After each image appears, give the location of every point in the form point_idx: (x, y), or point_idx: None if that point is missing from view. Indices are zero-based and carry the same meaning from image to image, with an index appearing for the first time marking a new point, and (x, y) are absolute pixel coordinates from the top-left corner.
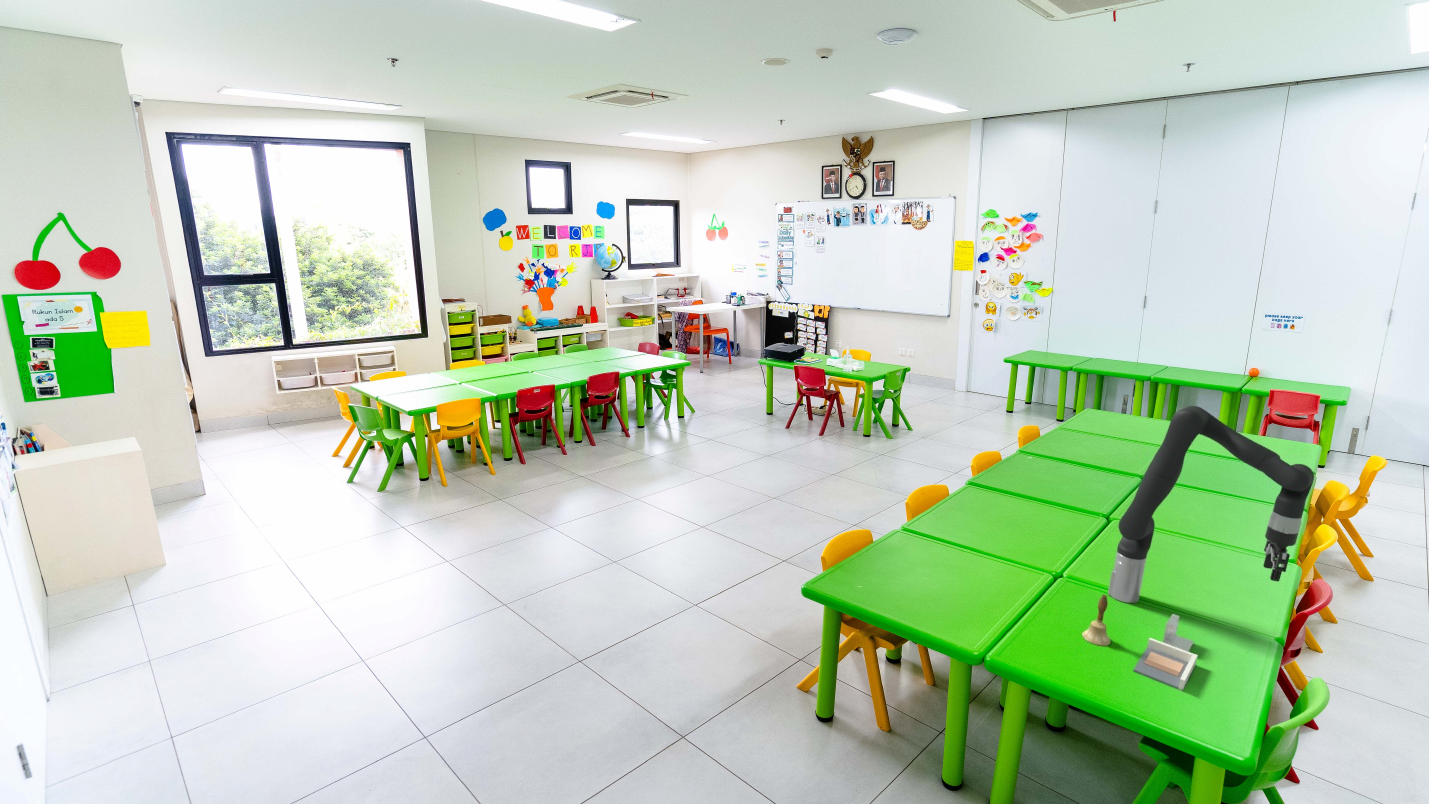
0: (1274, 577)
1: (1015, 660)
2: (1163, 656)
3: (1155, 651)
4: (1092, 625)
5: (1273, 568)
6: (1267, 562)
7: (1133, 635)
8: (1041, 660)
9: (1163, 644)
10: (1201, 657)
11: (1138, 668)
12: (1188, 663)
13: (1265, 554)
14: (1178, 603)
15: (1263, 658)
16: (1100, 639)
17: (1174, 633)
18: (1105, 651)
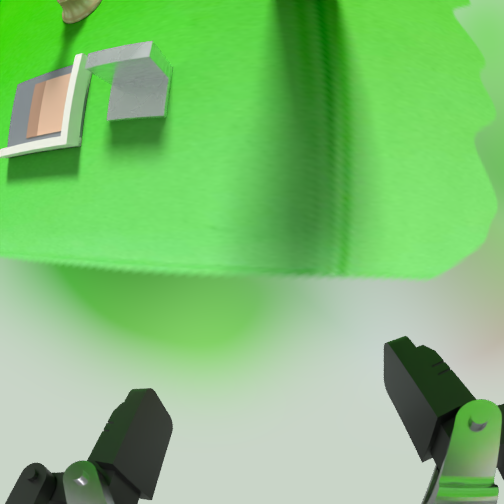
0: (112, 421)
1: (3, 6)
2: None
3: None
4: None
5: (76, 467)
6: (405, 390)
7: (125, 27)
8: (9, 15)
9: (70, 80)
10: (115, 146)
11: (22, 87)
12: (33, 142)
13: (469, 418)
14: (368, 69)
15: (209, 262)
16: (63, 12)
17: (136, 75)
18: (50, 33)
